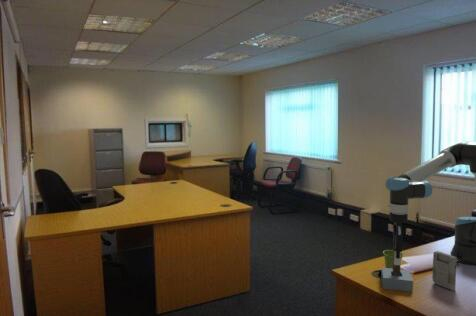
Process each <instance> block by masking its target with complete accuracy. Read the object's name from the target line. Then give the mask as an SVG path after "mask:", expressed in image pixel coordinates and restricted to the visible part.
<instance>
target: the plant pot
mask: <svg viewBox="0 0 476 316" xmlns="http://www.w3.org/2000/svg"><path fill="white" fill-rule="evenodd" d="M382 254H383V257H384V263H385V268H392V269H393V249H386V250H385V249H384V250H383V251H382ZM403 257H404V254H403V252H401V260H402V258H403Z"/></svg>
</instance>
